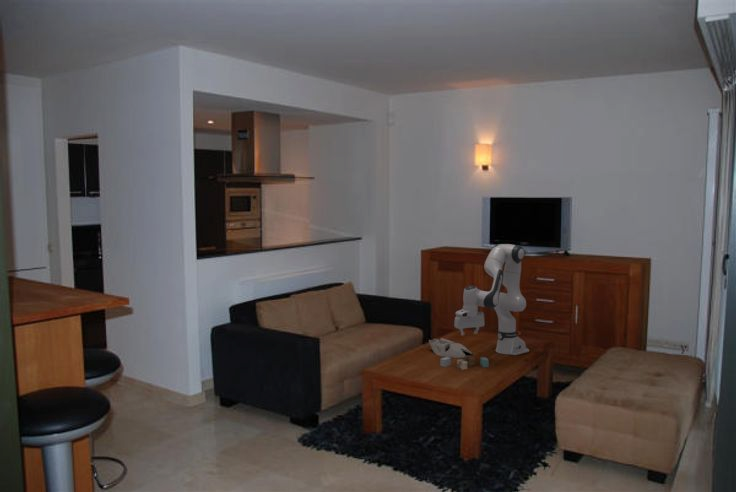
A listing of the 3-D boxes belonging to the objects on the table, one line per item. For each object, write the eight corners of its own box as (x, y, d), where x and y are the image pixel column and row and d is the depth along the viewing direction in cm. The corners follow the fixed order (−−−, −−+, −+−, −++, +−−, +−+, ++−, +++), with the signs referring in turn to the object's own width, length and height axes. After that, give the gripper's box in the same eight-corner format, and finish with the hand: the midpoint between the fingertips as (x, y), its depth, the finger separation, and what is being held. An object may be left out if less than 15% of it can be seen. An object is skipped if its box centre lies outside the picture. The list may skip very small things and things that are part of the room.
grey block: (446, 363, 380) (446, 356, 379) (450, 365, 377) (450, 357, 377) (440, 366, 376) (440, 358, 375) (444, 367, 373) (444, 359, 373)
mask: (439, 333, 421) (477, 340, 401) (438, 345, 422) (477, 354, 402) (422, 338, 406) (461, 347, 386) (422, 352, 407) (460, 361, 387)
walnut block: (464, 363, 381) (464, 356, 381) (469, 362, 383) (469, 355, 382) (470, 365, 376) (470, 358, 376) (474, 365, 378) (474, 357, 377)
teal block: (480, 364, 379) (480, 357, 378) (485, 364, 379) (485, 357, 378) (482, 367, 373) (483, 360, 372) (488, 367, 373) (488, 360, 373)
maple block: (456, 367, 373) (456, 360, 373) (461, 366, 375) (461, 359, 374) (462, 370, 368) (462, 362, 367) (467, 369, 369) (467, 361, 369)
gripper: (481, 310, 384) (480, 332, 385) (453, 312, 375) (452, 334, 376) (487, 312, 378) (486, 334, 379) (458, 314, 369) (458, 337, 371)
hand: (469, 334), depth 378 cm, fingers open, 8 cm apart
